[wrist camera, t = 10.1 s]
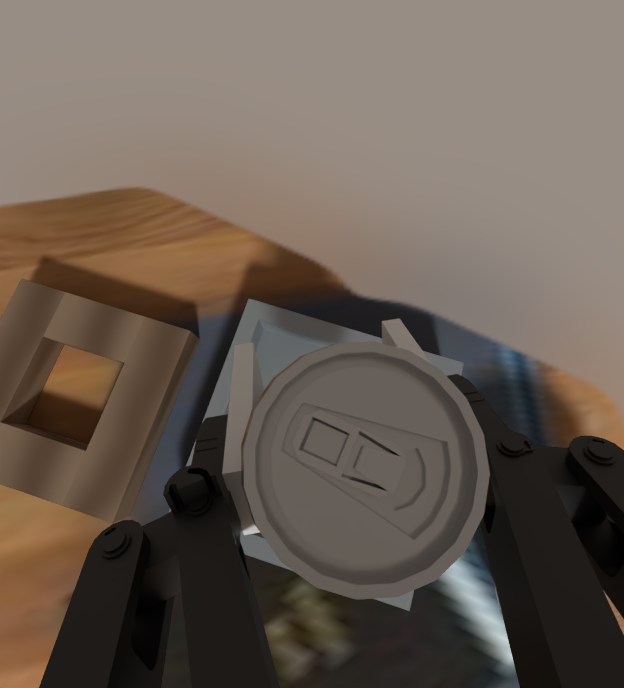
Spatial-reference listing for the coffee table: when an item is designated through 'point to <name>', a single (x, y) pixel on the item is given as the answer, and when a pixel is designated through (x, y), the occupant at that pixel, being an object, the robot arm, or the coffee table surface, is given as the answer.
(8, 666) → the coffee table surface
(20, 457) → the socket block
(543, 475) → the robot arm
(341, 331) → the bin
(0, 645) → the coffee table surface
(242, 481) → the beer can
